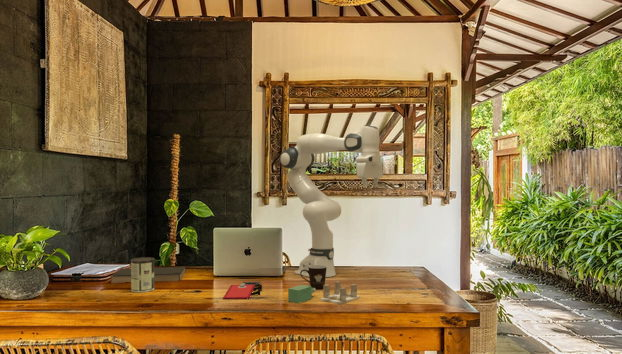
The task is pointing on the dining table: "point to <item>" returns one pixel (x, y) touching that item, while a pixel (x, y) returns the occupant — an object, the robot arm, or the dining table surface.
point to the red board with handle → (242, 290)
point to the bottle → (300, 293)
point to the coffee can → (142, 274)
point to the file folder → (159, 274)
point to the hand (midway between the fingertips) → (370, 187)
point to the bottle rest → (339, 294)
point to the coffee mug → (316, 276)
